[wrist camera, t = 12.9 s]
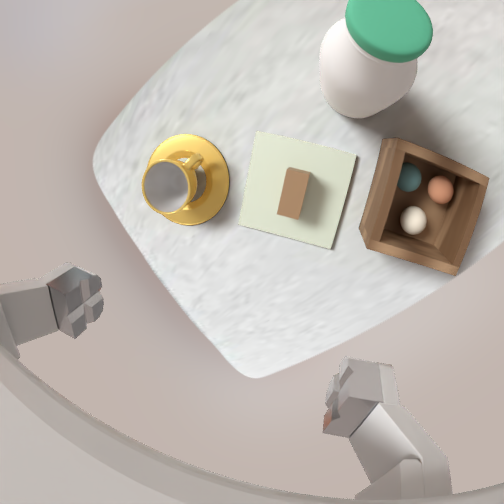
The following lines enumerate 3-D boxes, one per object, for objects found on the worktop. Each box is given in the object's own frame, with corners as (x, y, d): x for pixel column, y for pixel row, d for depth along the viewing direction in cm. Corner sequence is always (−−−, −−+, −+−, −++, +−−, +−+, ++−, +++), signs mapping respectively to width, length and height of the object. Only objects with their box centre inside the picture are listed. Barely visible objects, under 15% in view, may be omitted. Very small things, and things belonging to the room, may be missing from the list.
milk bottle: (375, 129, 28) (446, 113, 10) (311, 104, 29) (295, 50, 11) (393, 72, 25) (467, 3, 7) (330, 48, 26) (333, -53, 8)
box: (461, 170, 27) (489, 178, 20) (435, 252, 31) (455, 275, 25) (382, 138, 28) (398, 137, 22) (358, 228, 33) (366, 248, 26)
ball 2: (424, 208, 29) (434, 214, 26) (416, 233, 30) (424, 241, 27) (401, 199, 29) (409, 205, 27) (393, 225, 31) (400, 233, 28)
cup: (187, 241, 39) (168, 256, 34) (133, 178, 38) (109, 185, 33) (249, 183, 34) (237, 191, 29) (187, 115, 33) (165, 112, 28)
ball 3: (449, 179, 27) (461, 183, 24) (442, 204, 28) (453, 210, 25) (427, 170, 27) (437, 173, 24) (420, 196, 29) (430, 201, 26)
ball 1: (419, 166, 27) (428, 169, 25) (412, 192, 29) (420, 197, 26) (394, 157, 28) (401, 159, 25) (387, 184, 29) (394, 188, 26)
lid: (355, 154, 30) (360, 156, 27) (330, 245, 35) (331, 258, 31) (258, 131, 32) (249, 129, 28) (240, 221, 37) (230, 231, 33)
